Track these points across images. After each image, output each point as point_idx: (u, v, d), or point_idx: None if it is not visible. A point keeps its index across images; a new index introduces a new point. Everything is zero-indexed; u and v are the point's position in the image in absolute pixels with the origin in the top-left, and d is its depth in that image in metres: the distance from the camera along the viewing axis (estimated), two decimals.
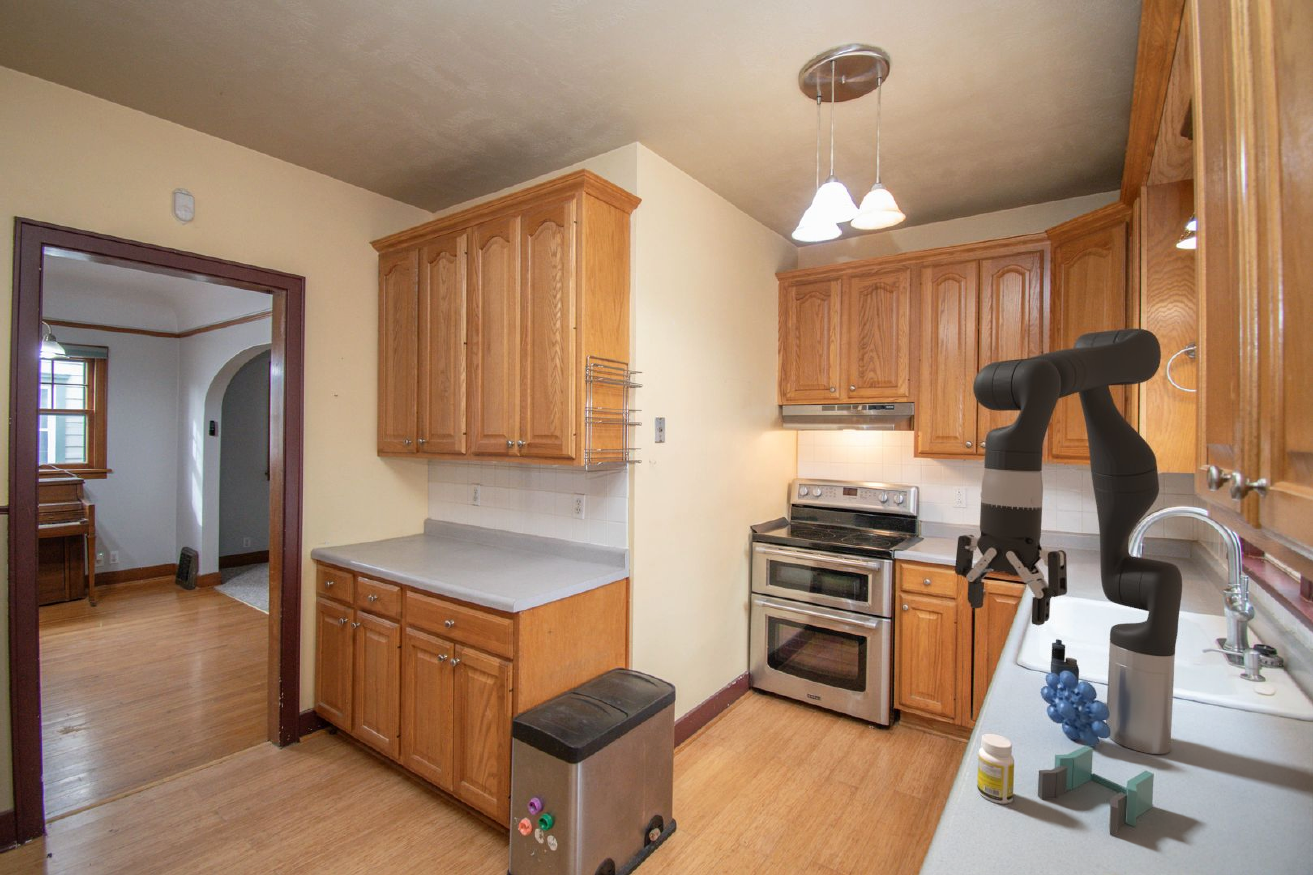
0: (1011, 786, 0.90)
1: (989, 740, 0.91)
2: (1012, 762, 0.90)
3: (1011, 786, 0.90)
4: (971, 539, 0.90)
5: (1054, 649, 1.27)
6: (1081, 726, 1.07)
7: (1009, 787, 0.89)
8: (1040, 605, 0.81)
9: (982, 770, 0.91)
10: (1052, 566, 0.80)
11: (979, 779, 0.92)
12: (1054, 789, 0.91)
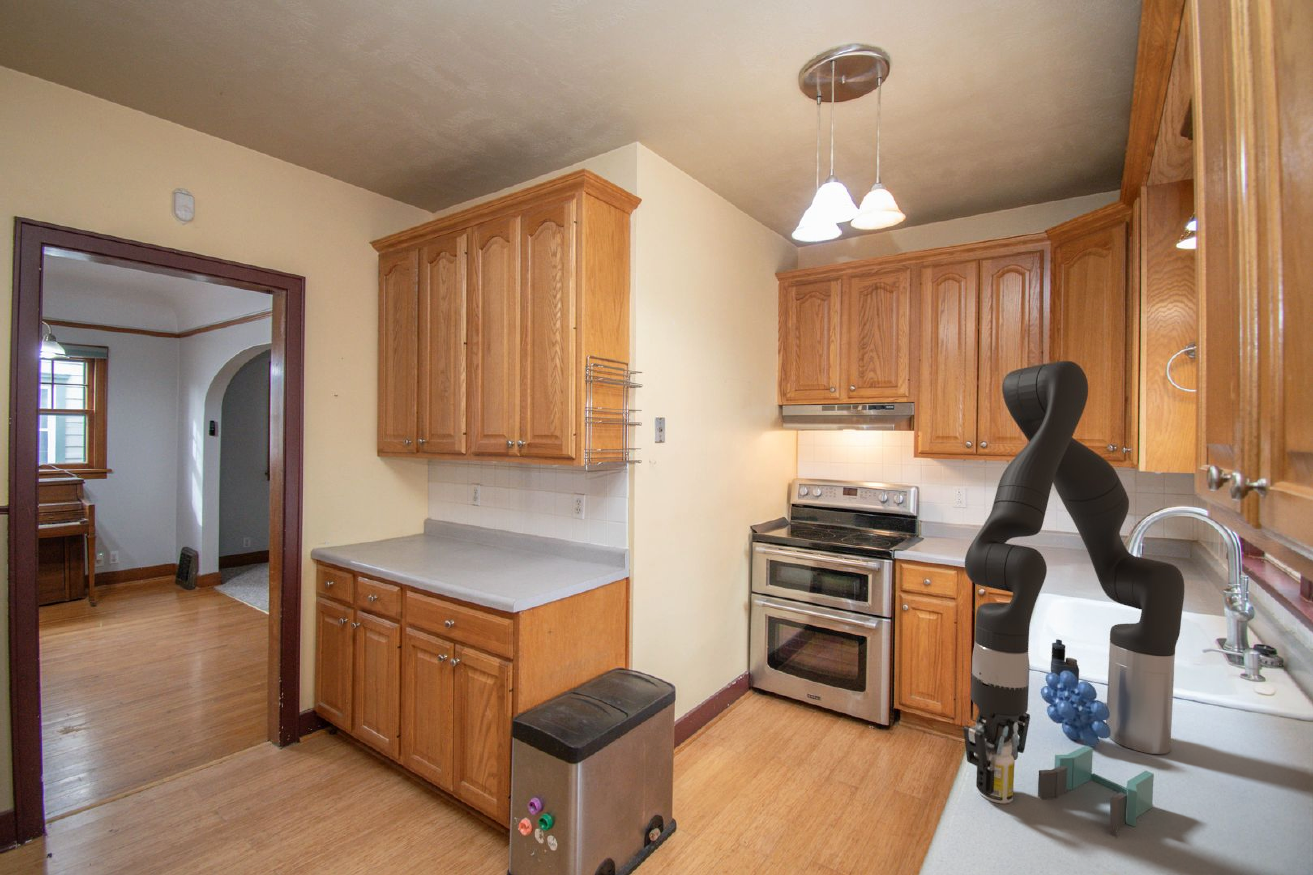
0: (1011, 786, 0.90)
1: None
2: (1012, 762, 0.90)
3: (1011, 786, 0.90)
4: (980, 729, 0.88)
5: (1054, 649, 1.27)
6: (1081, 726, 1.07)
7: (1009, 787, 0.89)
8: None
9: None
10: (1026, 726, 0.93)
11: None
12: (1054, 789, 0.91)
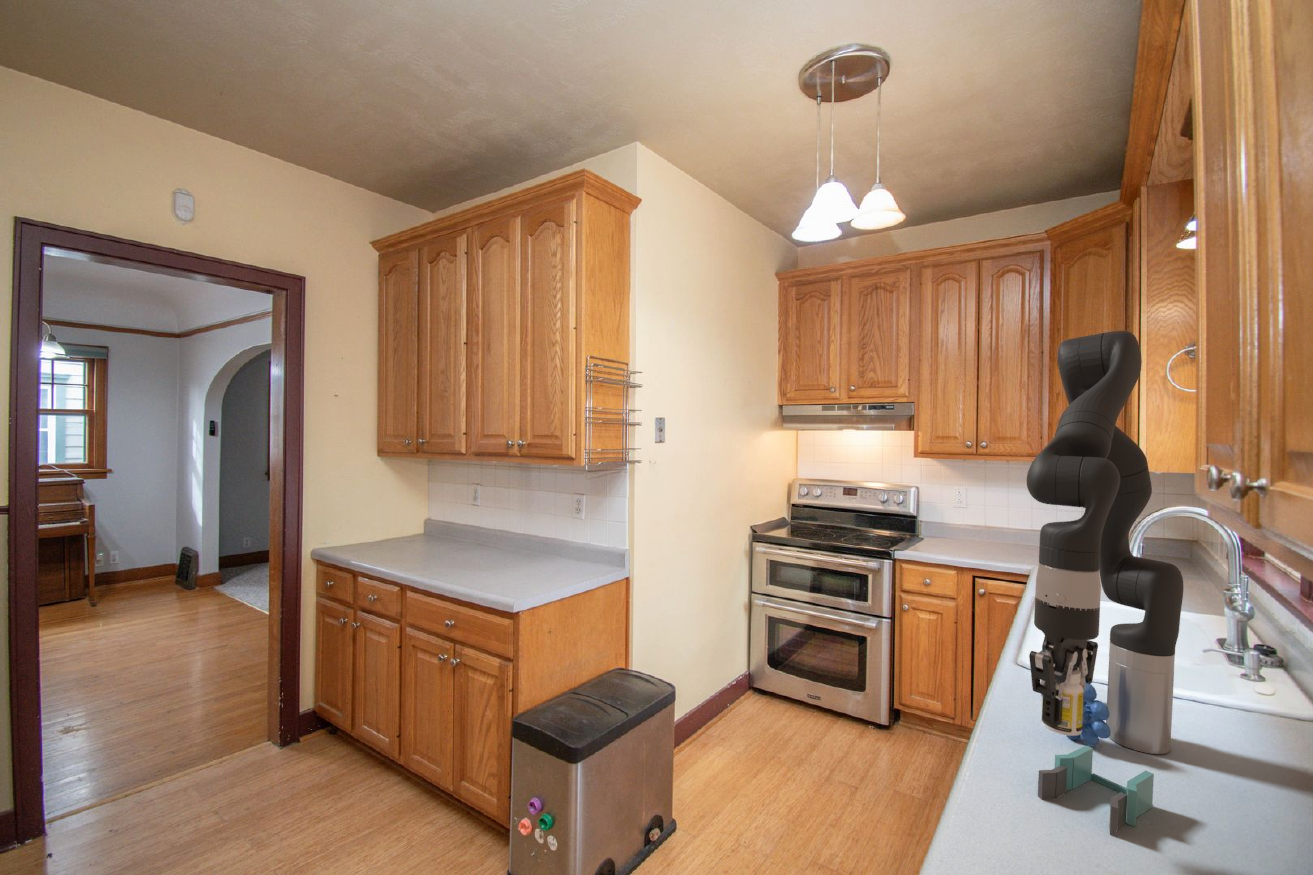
0: (1081, 717, 0.83)
1: None
2: (1081, 691, 0.83)
3: (1080, 717, 0.83)
4: (1048, 654, 0.82)
5: None
6: None
7: (1079, 717, 0.83)
8: None
9: None
10: (1094, 656, 0.87)
11: None
12: (1054, 789, 0.91)
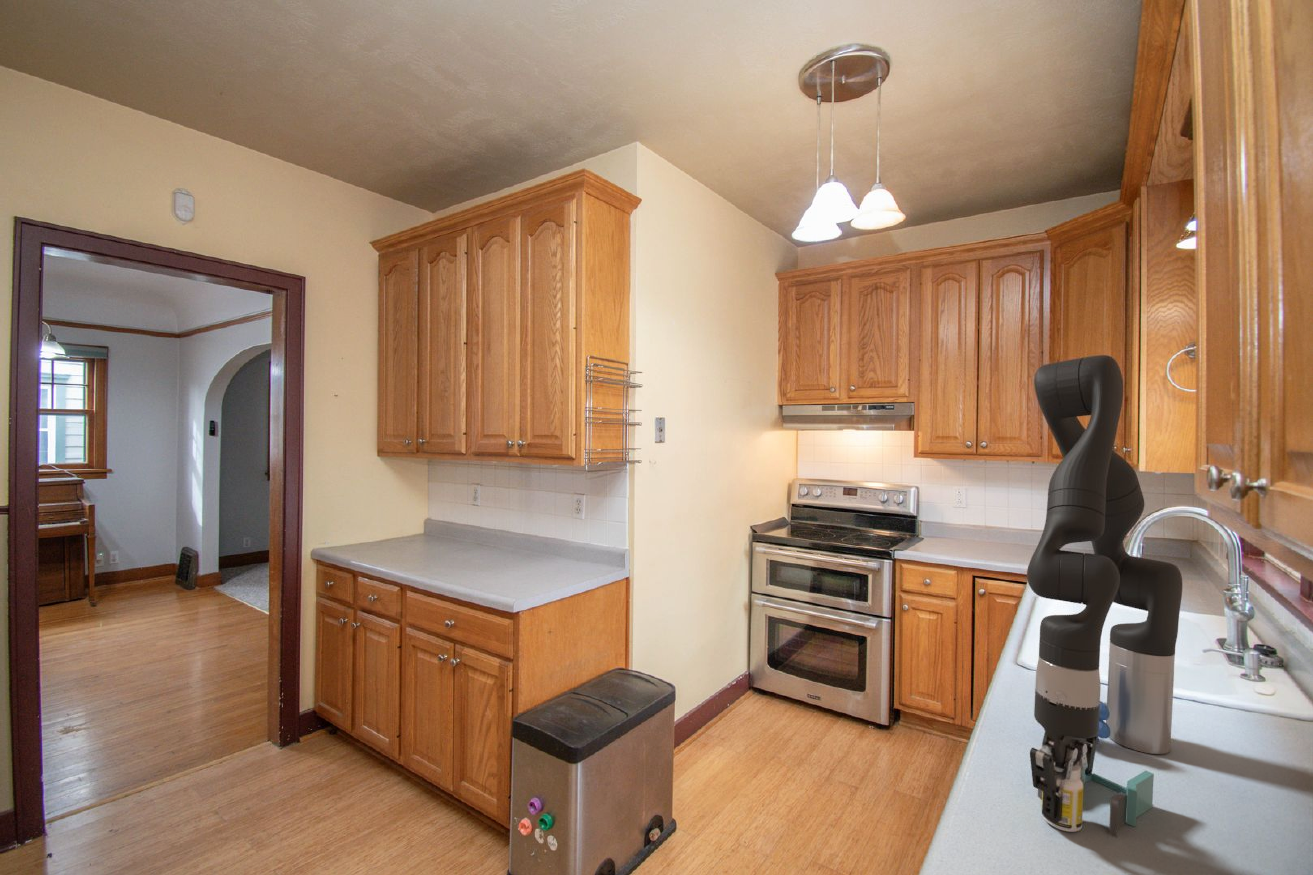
0: (1080, 813, 0.83)
1: None
2: (1081, 787, 0.83)
3: (1080, 813, 0.83)
4: (1048, 752, 0.82)
5: None
6: None
7: (1079, 814, 0.83)
8: None
9: None
10: (1093, 747, 0.87)
11: None
12: None
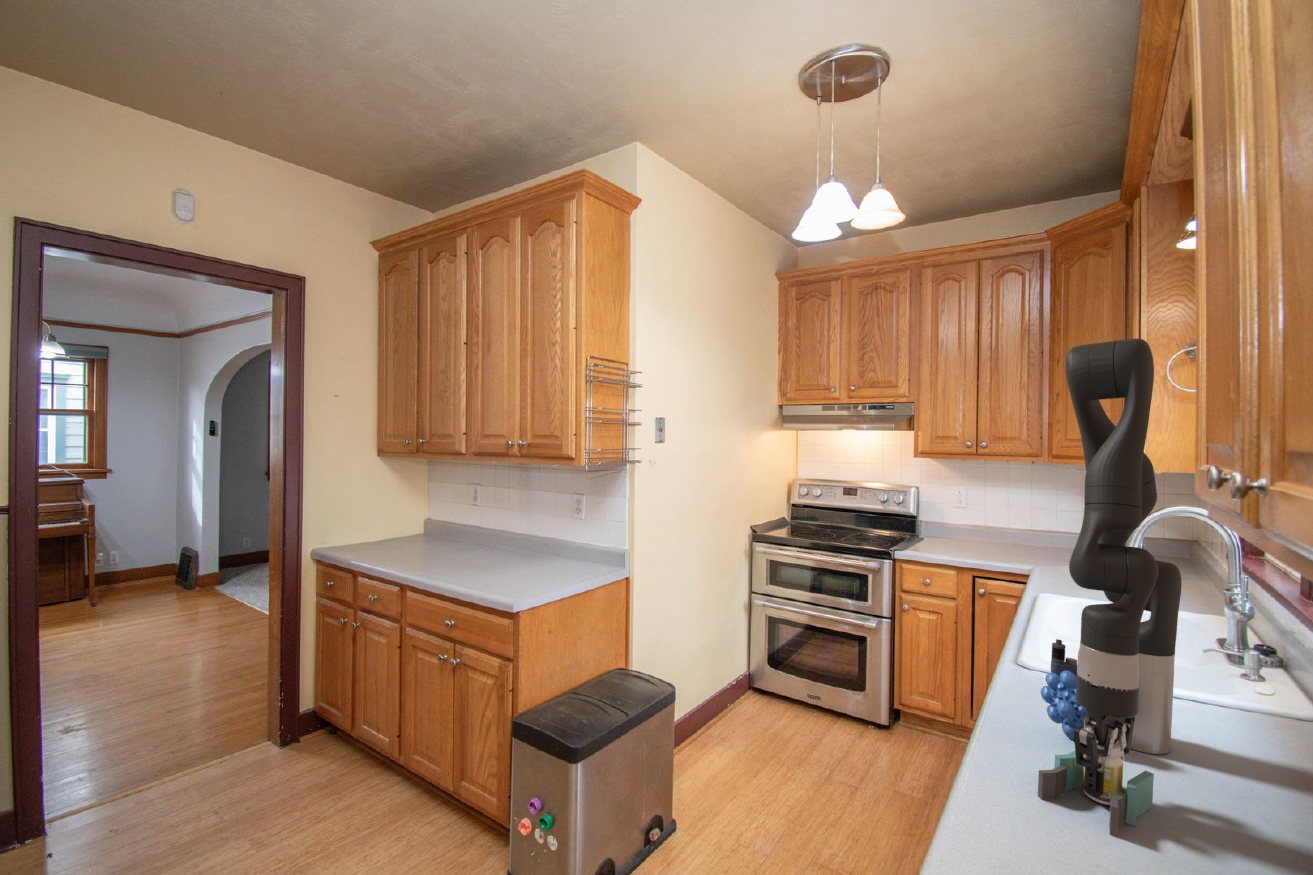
0: (1120, 788, 0.89)
1: None
2: (1121, 764, 0.90)
3: (1120, 788, 0.89)
4: (1091, 731, 0.88)
5: (1054, 649, 1.27)
6: (1081, 726, 1.07)
7: (1119, 788, 0.89)
8: None
9: None
10: (1131, 728, 0.93)
11: None
12: (1054, 789, 0.91)
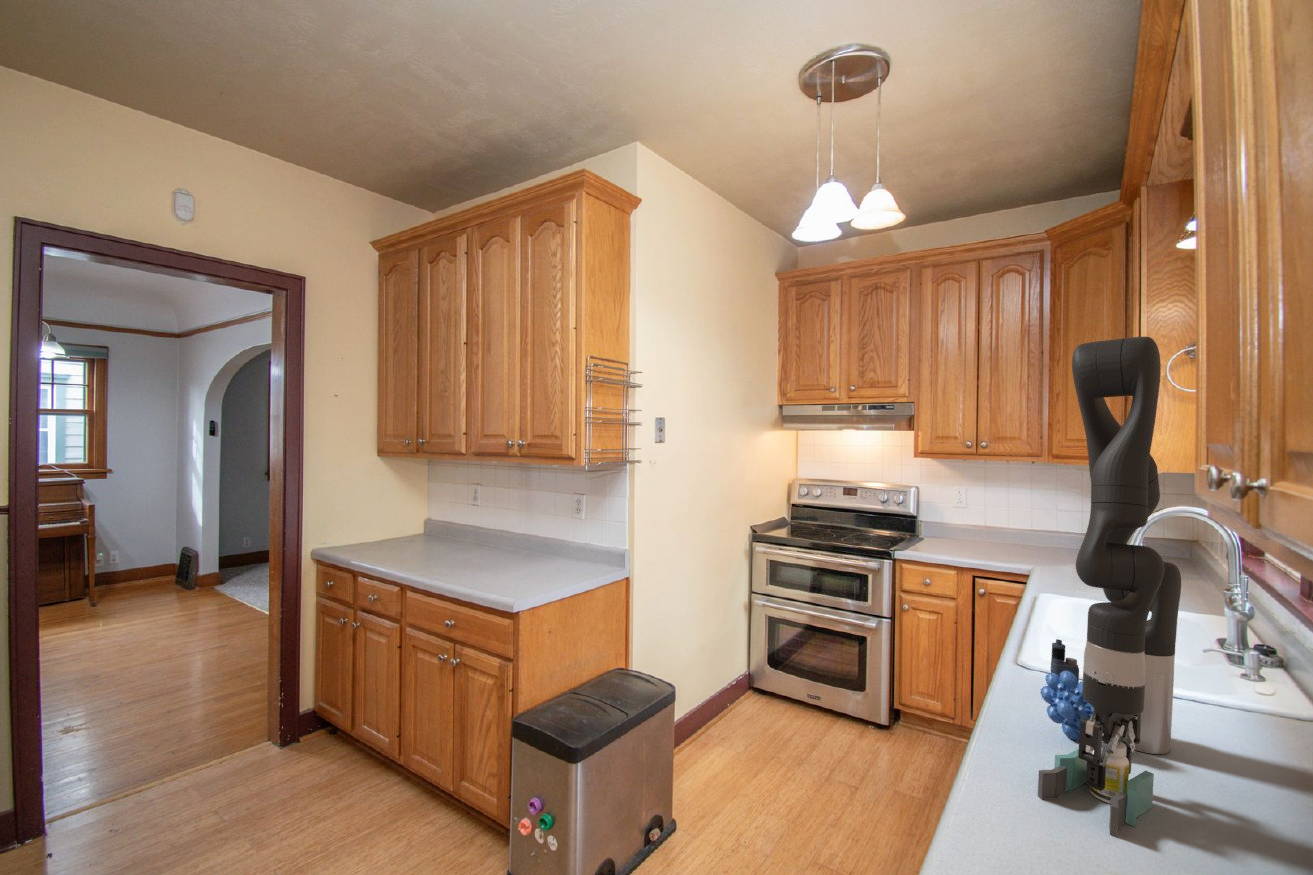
0: None
1: (1102, 741, 0.92)
2: (1128, 763, 0.90)
3: (1126, 787, 0.90)
4: (1098, 723, 0.89)
5: (1054, 649, 1.27)
6: None
7: (1125, 788, 0.90)
8: None
9: None
10: (1138, 719, 0.94)
11: None
12: (1054, 789, 0.91)
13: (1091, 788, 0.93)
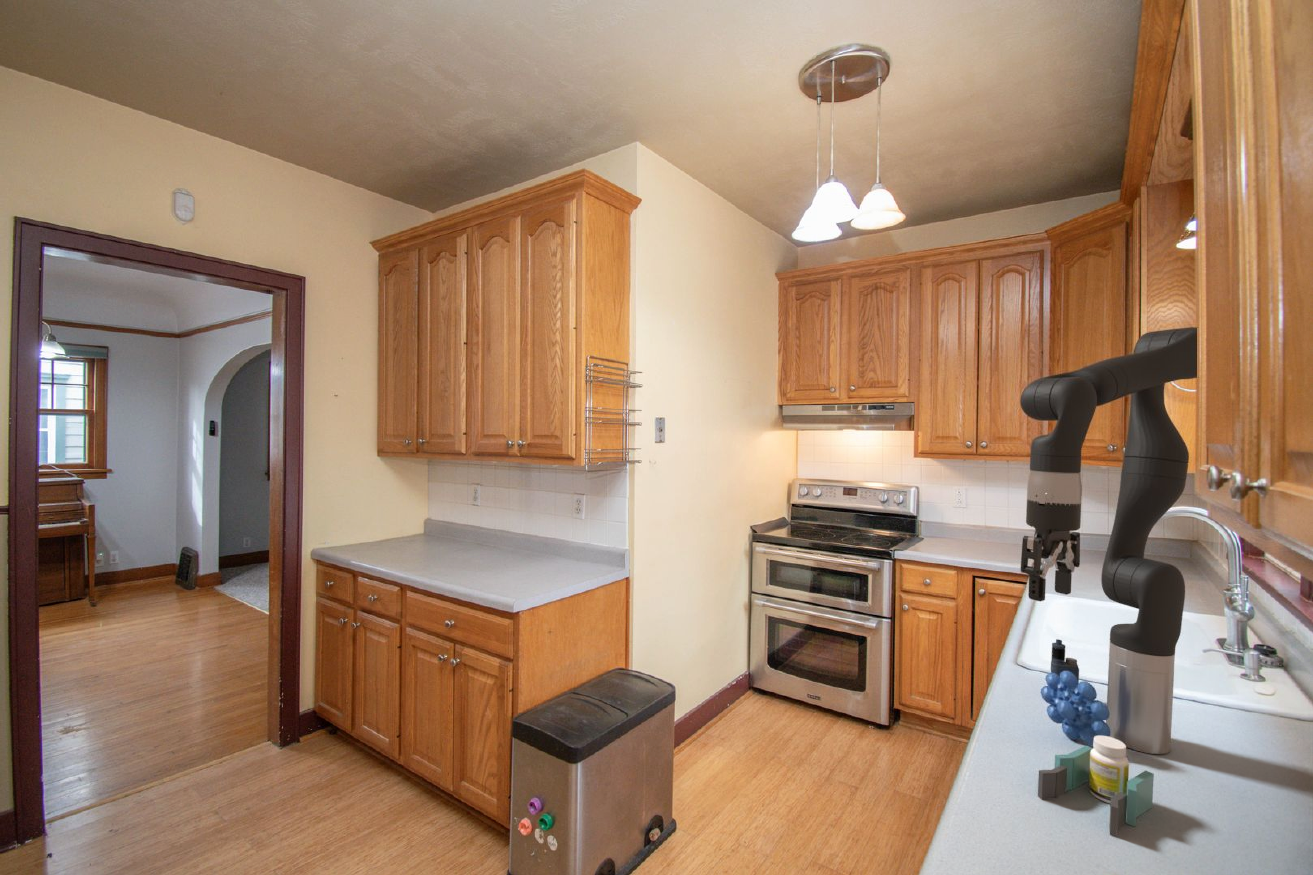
0: (1126, 787, 0.90)
1: (1102, 741, 0.92)
2: (1127, 763, 0.90)
3: (1126, 787, 0.90)
4: None
5: (1054, 649, 1.27)
6: (1081, 726, 1.07)
7: (1125, 788, 0.90)
8: None
9: (1096, 771, 0.92)
10: (1078, 544, 1.02)
11: (1092, 780, 0.92)
12: (1054, 789, 0.91)
13: (1091, 788, 0.93)
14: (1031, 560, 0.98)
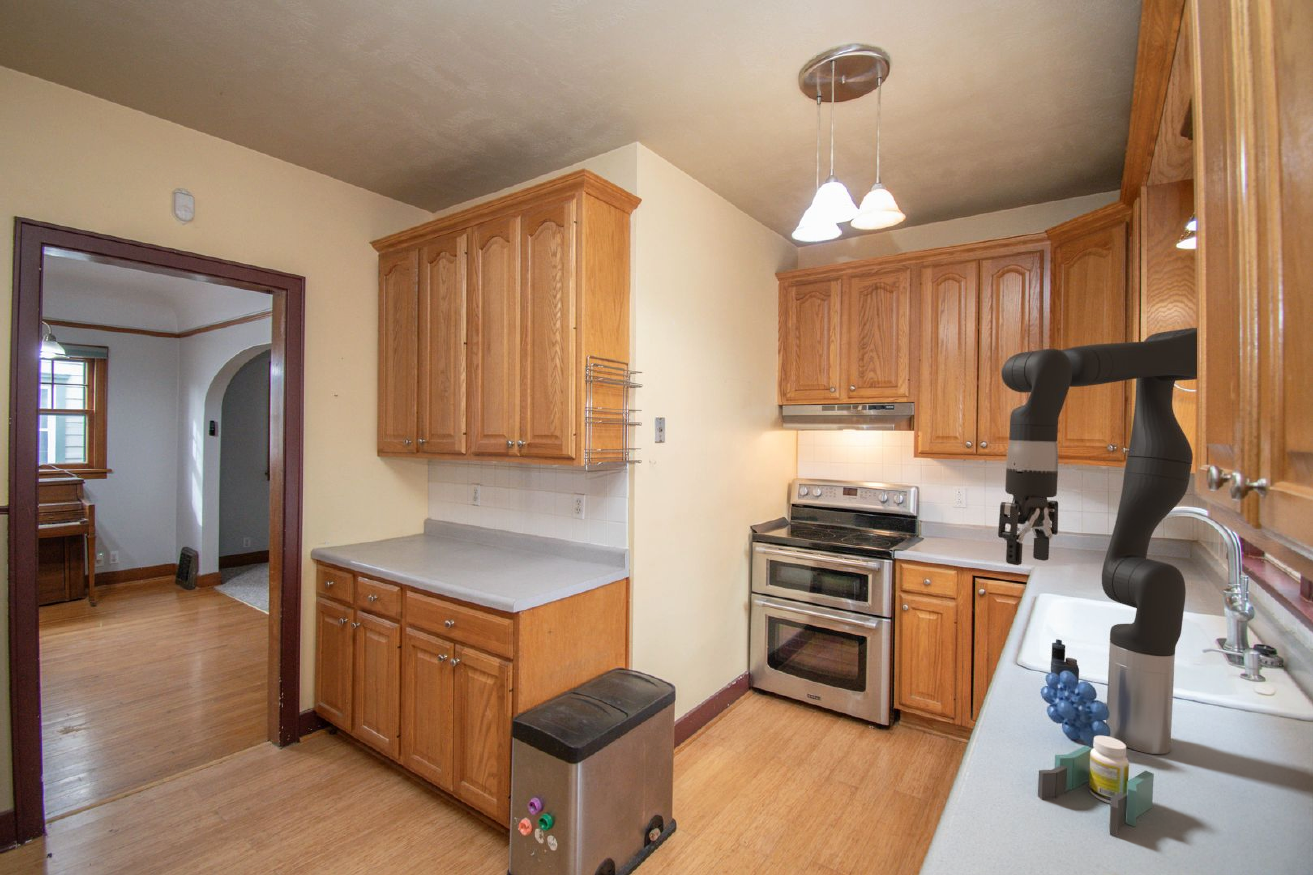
0: (1126, 787, 0.90)
1: (1102, 742, 0.92)
2: (1127, 763, 0.90)
3: (1126, 787, 0.90)
4: None
5: (1054, 649, 1.27)
6: (1081, 726, 1.07)
7: (1125, 788, 0.90)
8: None
9: (1096, 772, 0.92)
10: (1056, 512, 1.05)
11: (1092, 780, 0.92)
12: (1054, 789, 0.91)
13: (1091, 788, 0.93)
14: (1009, 526, 1.02)
